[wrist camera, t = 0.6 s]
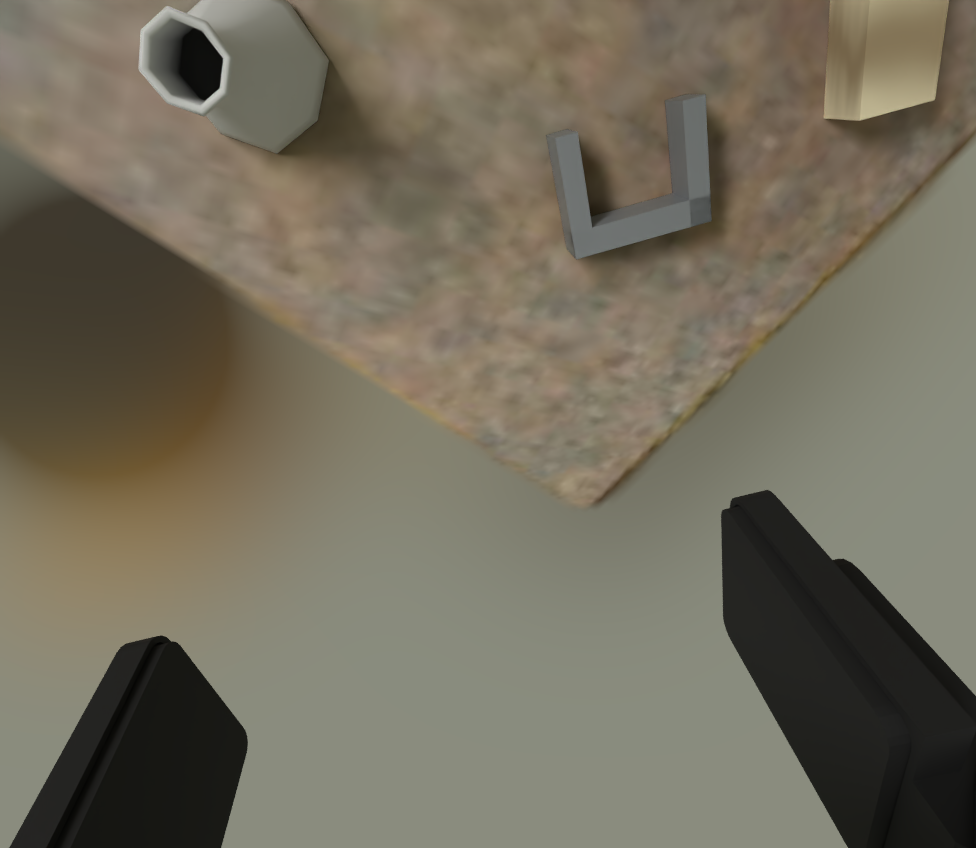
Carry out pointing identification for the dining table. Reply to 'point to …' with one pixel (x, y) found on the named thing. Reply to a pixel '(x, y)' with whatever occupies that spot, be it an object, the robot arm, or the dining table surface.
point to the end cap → (645, 217)
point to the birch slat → (882, 56)
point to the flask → (238, 68)
